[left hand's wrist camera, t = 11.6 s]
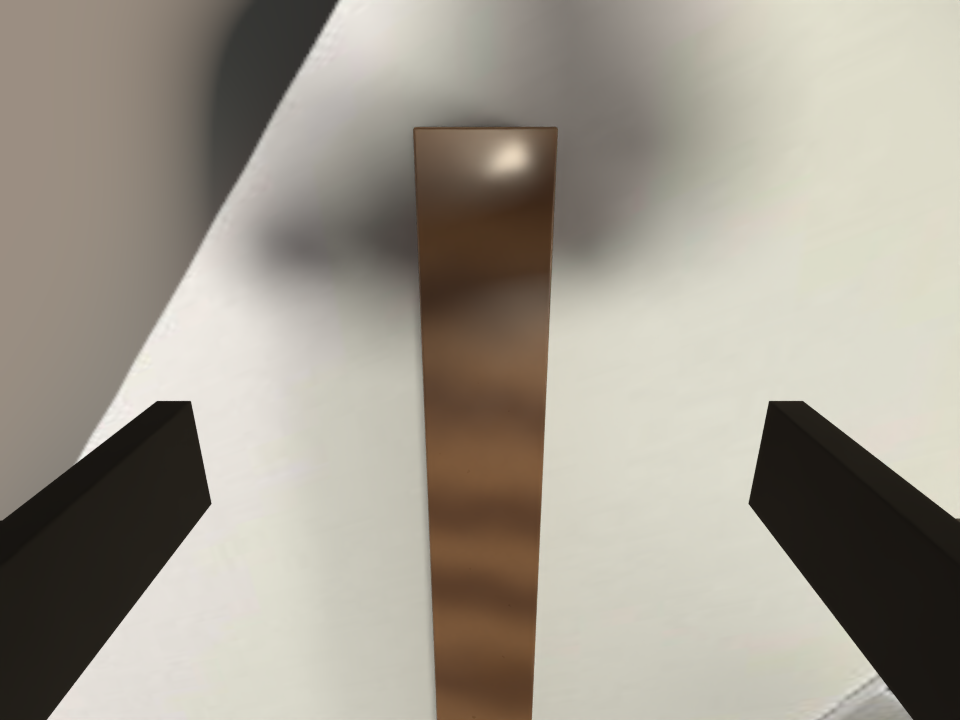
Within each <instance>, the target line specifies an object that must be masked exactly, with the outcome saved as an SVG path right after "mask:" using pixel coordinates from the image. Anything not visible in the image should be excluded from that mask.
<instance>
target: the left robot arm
mask: <svg viewBox="0 0 960 720" xmlns="http://www.w3.org/2000/svg"><path fill="white" fill-rule="evenodd" d="M210 505H211V499H210V494H209V489H208V484H207V479H206V474H205V469H204V464H203V459H202V454H201V449H200V444H199V439H198V434H197V429H196V424H195V419H194V414H193V409H192V404H191V401H157V402H155V403H154V404H153V405H151V406H150V407H149V408H147V409H146V410H145V411H144V412H142V413H141V414H140V415H138V416H137V417H136V418H135V419H133V420H132V421H131V422H129V423H128V424H127V425H125V426H124V427H123V428H122V429H120V430H119V431H118V432H116V433H115V434H114V435H113V436H111V437H110V438H109V439H107V440H106V441H105V442H103V443H102V444H101V445H100V446H98V447H97V448H96V449H94V450H93V451H92V452H91V453H89V454H88V455H87V456H85V457H84V458H83V459H81V460H80V461H79V462H78V463H76V464H75V465H74V466H72V467H71V468H70V469H68V470H67V471H66V472H65V473H63V474H62V475H61V476H59V477H58V478H57V479H56V480H54V481H53V482H52V483H50V484H49V485H48V486H47V487H45V488H44V489H43V490H41V491H40V492H39V493H37V494H36V495H35V496H34V497H32V498H31V499H30V500H28V501H27V502H26V503H24V504H23V505H22V506H21V507H19V508H18V509H17V510H15V511H14V512H13V513H12V514H10V515H9V516H8V517H6V518H5V519H4V520H2V521H0V720H47V719H48V717H49V716H50V715H51V713H52V712H53V711H54V710H55V708H56V707H57V706H58V704H59V703H60V702H61V700H62V699H63V698H64V696H65V695H66V694H67V693H68V691H69V690H70V689H71V687H72V686H73V685H74V683H75V682H76V681H77V679H78V678H79V677H80V675H81V674H82V673H83V672H84V670H85V669H86V668H87V666H88V665H89V664H90V662H91V661H92V660H93V658H94V657H95V656H96V654H97V653H98V652H99V651H100V649H101V648H102V647H103V645H104V644H105V643H106V641H107V640H108V639H109V637H110V636H111V635H112V634H113V632H114V631H115V630H116V628H117V627H118V626H119V624H120V623H121V622H122V620H123V619H124V618H125V616H126V615H127V614H128V613H129V611H130V610H131V609H132V607H133V606H134V605H135V603H136V602H137V601H138V599H139V598H140V597H141V595H142V594H143V593H144V592H145V590H146V589H147V588H148V586H149V585H150V584H151V582H152V581H153V580H154V578H155V577H156V576H157V575H158V573H159V572H160V571H161V569H162V568H163V567H164V565H165V564H166V563H167V561H168V560H169V559H170V557H171V556H172V555H173V554H174V552H175V551H176V550H177V548H178V547H179V546H180V544H181V543H182V542H183V540H184V539H185V538H186V536H187V535H188V534H189V533H190V531H191V530H192V529H193V527H194V526H195V525H196V523H197V522H198V521H199V519H200V518H201V517H202V516H203V514H204V513H205V512H206V510H207V509H208V508H209V506H210ZM749 505H750V506H751V508H752V509H753V510H754V512H755V513H756V514H757V516H758V517H759V518H760V519H761V521H762V522H763V523H764V525H765V526H766V527H767V529H768V530H769V531H770V533H771V534H772V535H773V536H774V538H775V539H776V540H777V542H778V543H779V544H780V546H781V547H782V548H783V550H784V551H785V552H786V554H787V555H788V556H789V557H790V559H791V560H792V561H793V563H794V564H795V565H796V567H797V568H798V569H799V571H800V572H801V573H802V575H803V576H804V577H805V578H806V580H807V581H808V582H809V584H810V585H811V586H812V588H813V589H814V590H815V592H816V593H817V594H818V595H819V597H820V598H821V599H822V601H823V602H824V603H825V605H826V606H827V607H828V609H829V610H830V611H831V613H832V614H833V615H834V616H835V618H836V619H837V620H838V622H839V623H840V624H841V626H842V627H843V628H844V630H845V631H846V632H847V634H848V635H849V636H850V637H851V639H852V640H853V641H854V643H855V644H856V645H857V647H858V648H859V649H860V651H861V652H862V653H863V654H864V656H865V657H866V658H867V660H868V661H869V662H870V664H871V665H872V666H873V668H874V669H875V670H876V672H877V673H878V674H879V675H880V677H881V678H882V679H883V681H884V682H885V683H886V685H887V686H888V687H889V689H890V690H891V691H892V693H893V694H894V695H895V696H896V698H897V699H898V700H899V702H900V703H901V704H902V706H903V707H904V708H905V710H906V711H907V712H908V713H909V715H910V716H911V717H912V719H913V720H960V519H955V518H954V517H952V516H951V515H950V514H948V513H947V512H946V511H945V510H943V509H942V508H941V507H939V506H938V505H937V504H936V503H934V502H933V501H932V500H930V499H929V498H928V497H926V496H925V495H924V494H923V493H921V492H920V491H919V490H917V489H916V488H915V487H914V486H912V485H911V484H910V483H908V482H907V481H906V480H904V479H903V478H902V477H901V476H899V475H898V474H897V473H895V472H894V471H893V470H892V469H890V468H889V467H888V466H886V465H885V464H884V463H882V462H881V461H880V460H879V459H877V458H876V457H875V456H873V455H872V454H871V453H869V452H868V451H867V450H866V449H864V448H863V447H862V446H860V445H859V444H858V443H857V442H855V441H854V440H853V439H851V438H850V437H849V436H847V435H846V434H845V433H844V432H842V431H841V430H840V429H838V428H837V427H836V426H835V425H833V424H832V423H831V422H829V421H828V420H827V419H825V418H824V417H823V416H822V415H820V414H819V413H818V412H816V411H815V410H814V409H813V408H811V407H810V406H809V405H807V404H806V403H805V402H803V401H769V404H768V409H767V414H766V419H765V424H764V429H763V434H762V439H761V444H760V449H759V454H758V459H757V464H756V469H755V474H754V479H753V484H752V489H751V494H750V499H749Z"/></svg>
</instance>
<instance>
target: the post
mask: <svg viewBox="0 0 960 720" xmlns="http://www.w3.org/2000/svg"><path fill="white" fill-rule="evenodd" d="M557 137H558V129H557V127H414V129H413V140H414V165H415V190H416V215H417V239H418V264H419V289H420V313H421V338H422V363H423V387H424V412H425V437H426V462H427V486H428V511H429V536H430V560H431V585H432V610H433V634H434V659H435V684H436V709H437V720H532V704H533V682H534V659H535V636H536V614H537V591H538V568H539V546H540V523H541V500H542V477H543V455H544V432H545V409H546V387H547V364H548V341H549V319H550V296H551V273H552V251H553V228H554V205H555V182H556V160H557Z"/></svg>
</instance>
